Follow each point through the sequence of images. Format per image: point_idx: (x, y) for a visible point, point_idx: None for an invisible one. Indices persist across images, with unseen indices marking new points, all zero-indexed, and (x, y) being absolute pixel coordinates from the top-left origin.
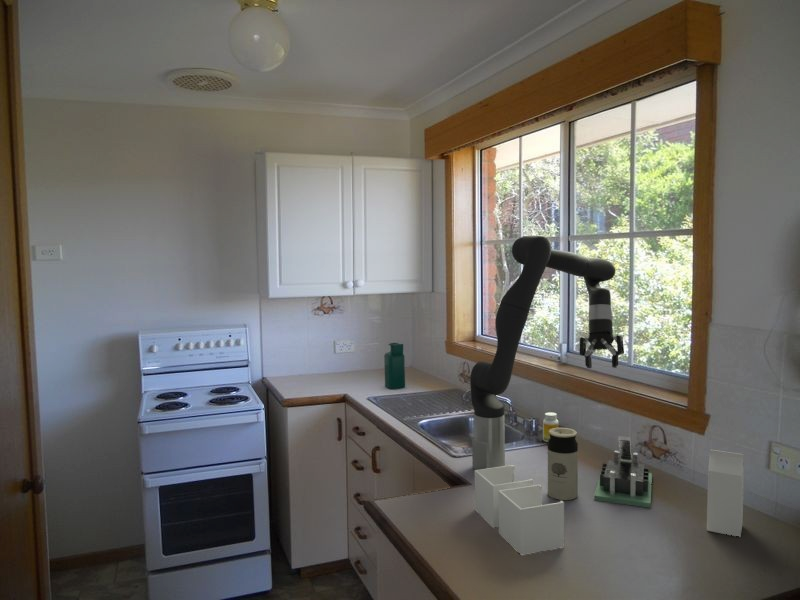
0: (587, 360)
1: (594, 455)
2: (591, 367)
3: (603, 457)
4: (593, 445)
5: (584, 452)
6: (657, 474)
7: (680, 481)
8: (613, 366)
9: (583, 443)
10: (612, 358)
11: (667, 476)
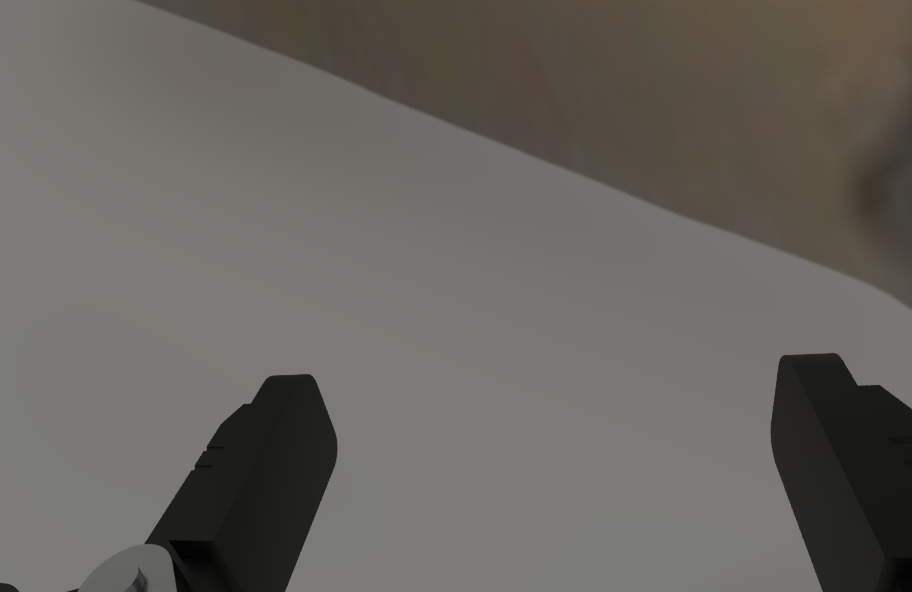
0: (885, 468)
1: (613, 39)
2: (774, 451)
3: (558, 46)
4: (694, 201)
5: (687, 45)
6: (268, 12)
7: (176, 4)
8: (282, 375)
9: (764, 197)
10: (227, 491)
11: (232, 22)
